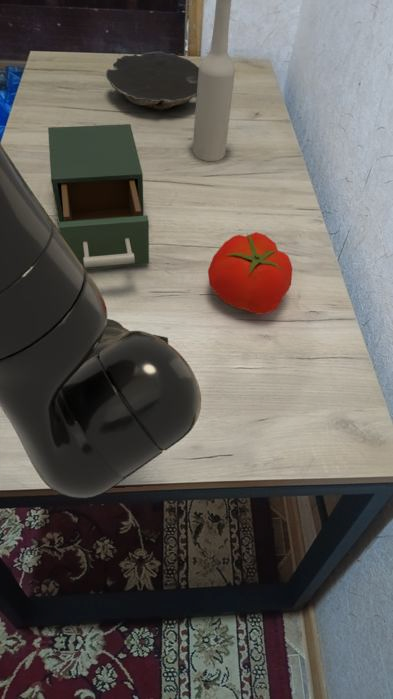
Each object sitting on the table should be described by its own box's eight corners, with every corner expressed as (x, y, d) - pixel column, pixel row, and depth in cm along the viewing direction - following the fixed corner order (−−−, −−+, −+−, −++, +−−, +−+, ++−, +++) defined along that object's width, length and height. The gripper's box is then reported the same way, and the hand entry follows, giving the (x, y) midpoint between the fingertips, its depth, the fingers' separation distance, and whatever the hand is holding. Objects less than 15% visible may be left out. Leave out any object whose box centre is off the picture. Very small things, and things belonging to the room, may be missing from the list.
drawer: (153, 285, 74) (153, 242, 67) (69, 293, 71) (60, 250, 65) (137, 209, 84) (135, 166, 78) (63, 215, 82) (55, 170, 75)
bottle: (192, 160, 96) (204, -9, 74) (192, 142, 100) (203, -24, 78) (226, 162, 96) (248, -6, 74) (224, 143, 100) (244, -21, 78)
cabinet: (143, 226, 83) (142, 173, 75) (61, 233, 81) (51, 179, 72) (132, 176, 91) (130, 123, 83) (57, 180, 89) (48, 127, 81)
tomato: (195, 271, 77) (199, 228, 71) (269, 260, 80) (279, 218, 73) (219, 332, 70) (227, 291, 63) (299, 318, 73) (314, 277, 66)
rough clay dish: (222, 94, 113) (225, 71, 109) (169, 133, 101) (169, 108, 97) (144, 65, 119) (144, 42, 115) (85, 99, 107) (83, 74, 103)
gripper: (180, 318, 46) (158, 309, 62) (20, 336, 43) (41, 321, 60) (188, 396, 47) (164, 366, 64) (33, 418, 44) (50, 381, 61)
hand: (105, 345), depth 62 cm, fingers closed on plastic container, 5 cm apart
